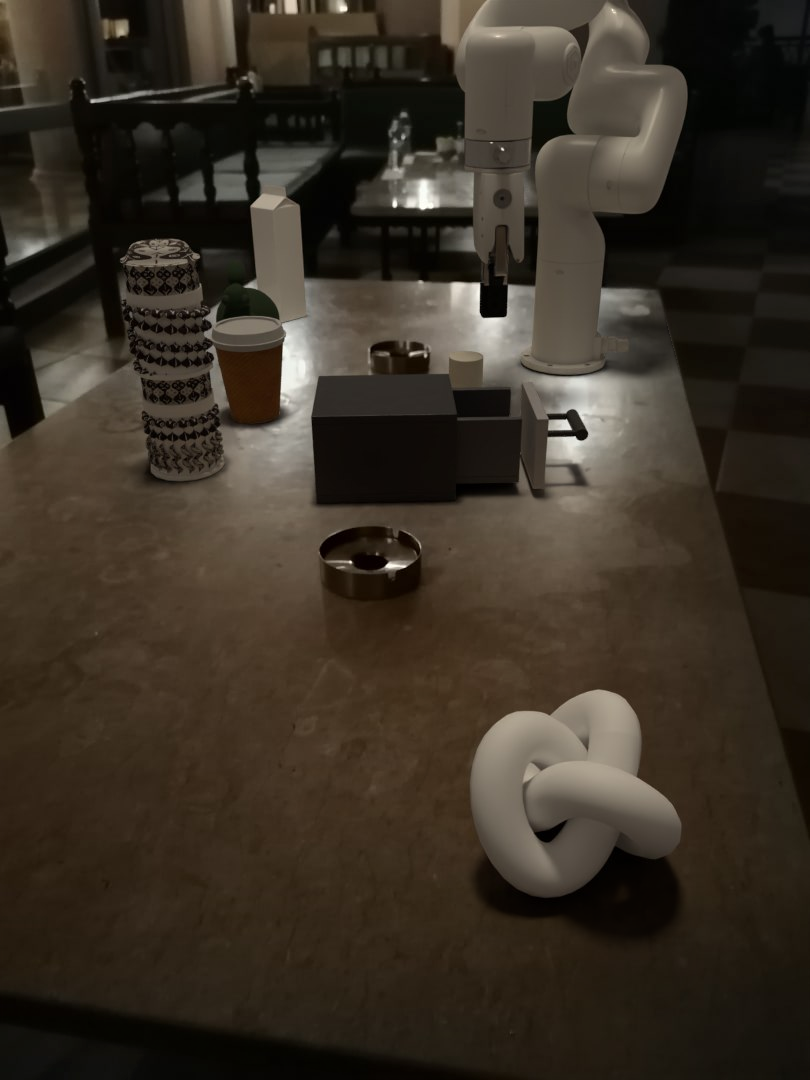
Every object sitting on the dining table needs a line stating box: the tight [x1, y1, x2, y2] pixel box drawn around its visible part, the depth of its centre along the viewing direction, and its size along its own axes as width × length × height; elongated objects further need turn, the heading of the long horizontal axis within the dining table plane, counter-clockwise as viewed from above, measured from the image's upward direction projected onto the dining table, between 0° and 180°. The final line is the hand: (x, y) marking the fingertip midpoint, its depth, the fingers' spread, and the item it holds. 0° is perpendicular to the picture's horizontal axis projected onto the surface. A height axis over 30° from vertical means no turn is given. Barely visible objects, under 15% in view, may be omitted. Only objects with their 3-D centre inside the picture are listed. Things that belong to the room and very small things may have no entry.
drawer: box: [452, 381, 589, 490], centre depth 100 cm, size 18×12×8 cm, turn 91°
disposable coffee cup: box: [209, 316, 287, 425], centre depth 116 cm, size 10×10×12 cm
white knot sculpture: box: [469, 688, 682, 899], centre depth 53 cm, size 11×12×9 cm
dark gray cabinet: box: [310, 373, 457, 504], centre depth 99 cm, size 15×13×10 cm
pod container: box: [448, 350, 484, 388], centre depth 122 cm, size 5×5×6 cm
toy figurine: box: [215, 259, 280, 323], centre depth 131 cm, size 9×19×25 cm
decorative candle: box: [119, 238, 225, 482], centre depth 99 cm, size 9×9×25 cm
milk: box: [249, 184, 307, 324], centre depth 157 cm, size 6×6×22 cm
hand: (493, 315), depth 112 cm, fingers closed
